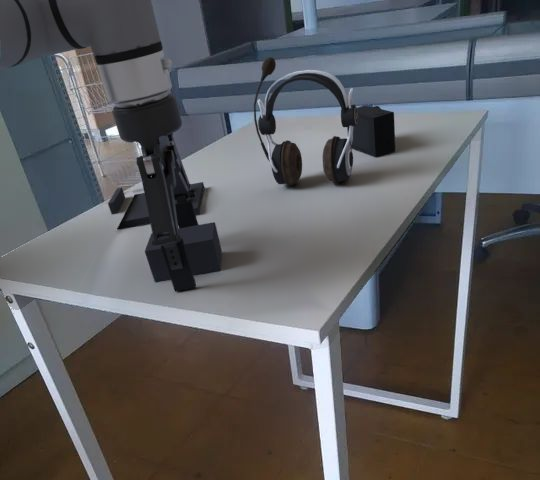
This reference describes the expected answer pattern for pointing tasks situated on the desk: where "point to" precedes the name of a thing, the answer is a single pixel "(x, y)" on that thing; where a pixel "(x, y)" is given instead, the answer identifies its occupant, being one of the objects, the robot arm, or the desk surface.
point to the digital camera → (374, 131)
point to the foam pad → (189, 251)
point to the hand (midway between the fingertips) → (190, 265)
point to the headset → (288, 154)
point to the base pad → (145, 206)
